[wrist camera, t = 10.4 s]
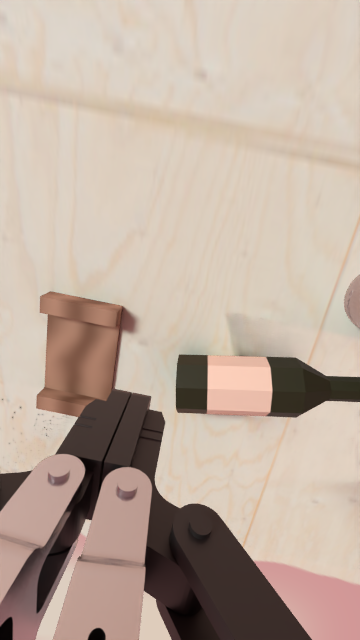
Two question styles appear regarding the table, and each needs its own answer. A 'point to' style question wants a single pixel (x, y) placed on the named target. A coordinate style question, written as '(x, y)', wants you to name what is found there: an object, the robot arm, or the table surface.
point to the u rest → (78, 352)
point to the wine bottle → (256, 386)
